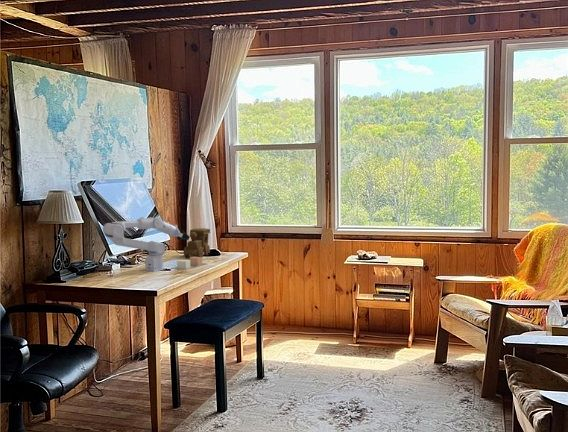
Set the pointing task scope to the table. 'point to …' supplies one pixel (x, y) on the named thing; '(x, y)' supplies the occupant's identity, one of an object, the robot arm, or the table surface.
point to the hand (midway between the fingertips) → (185, 236)
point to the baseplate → (193, 263)
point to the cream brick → (183, 264)
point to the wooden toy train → (198, 243)
